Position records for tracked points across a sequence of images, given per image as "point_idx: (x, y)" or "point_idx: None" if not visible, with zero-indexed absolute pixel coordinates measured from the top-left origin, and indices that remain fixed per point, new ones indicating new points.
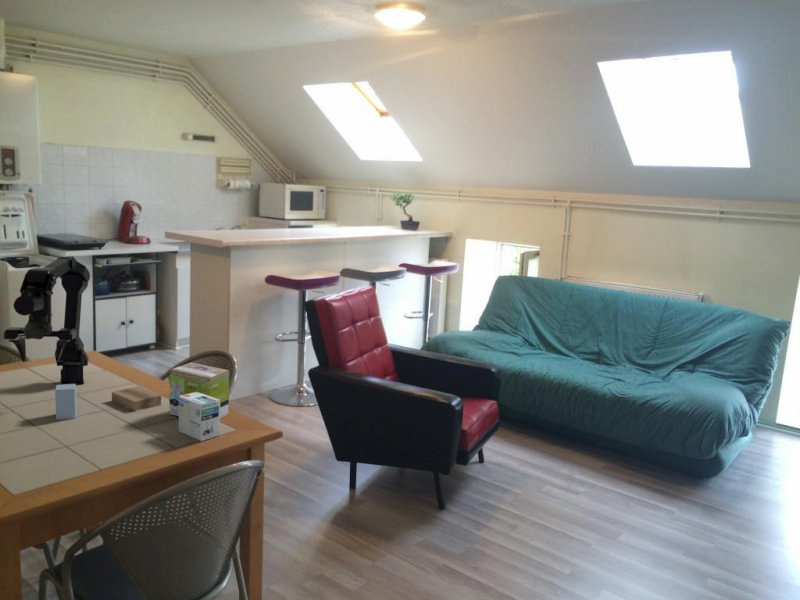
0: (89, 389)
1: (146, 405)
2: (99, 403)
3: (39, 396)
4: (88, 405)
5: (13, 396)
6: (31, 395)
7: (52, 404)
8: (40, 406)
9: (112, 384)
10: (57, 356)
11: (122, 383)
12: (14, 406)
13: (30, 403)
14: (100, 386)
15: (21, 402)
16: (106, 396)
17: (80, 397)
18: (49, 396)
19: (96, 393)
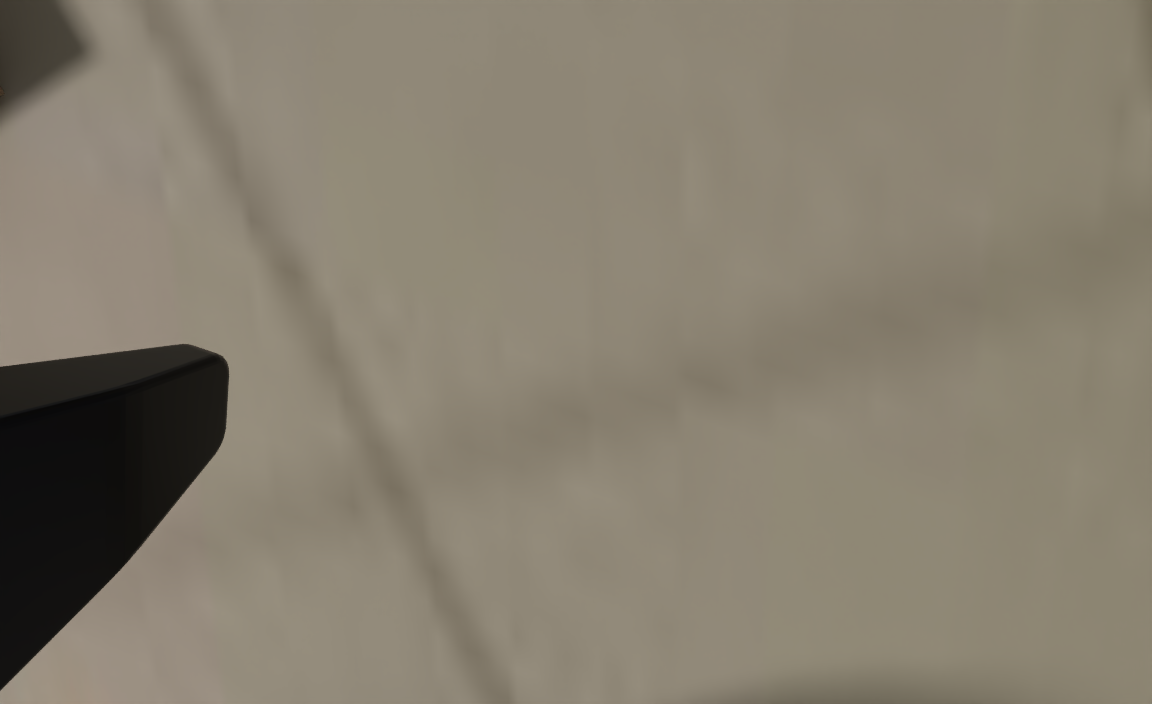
0: (272, 597)
1: None
2: (117, 49)
3: (777, 557)
4: (224, 3)
5: (1082, 672)
6: (866, 628)
7: (634, 183)
8: (783, 142)
9: (87, 665)
10: (47, 378)
11: None
12: (1124, 253)
13: (901, 317)
14: (183, 649)
15: (1011, 399)
16: (83, 297)
17: (336, 356)
18: (666, 515)
19: None
